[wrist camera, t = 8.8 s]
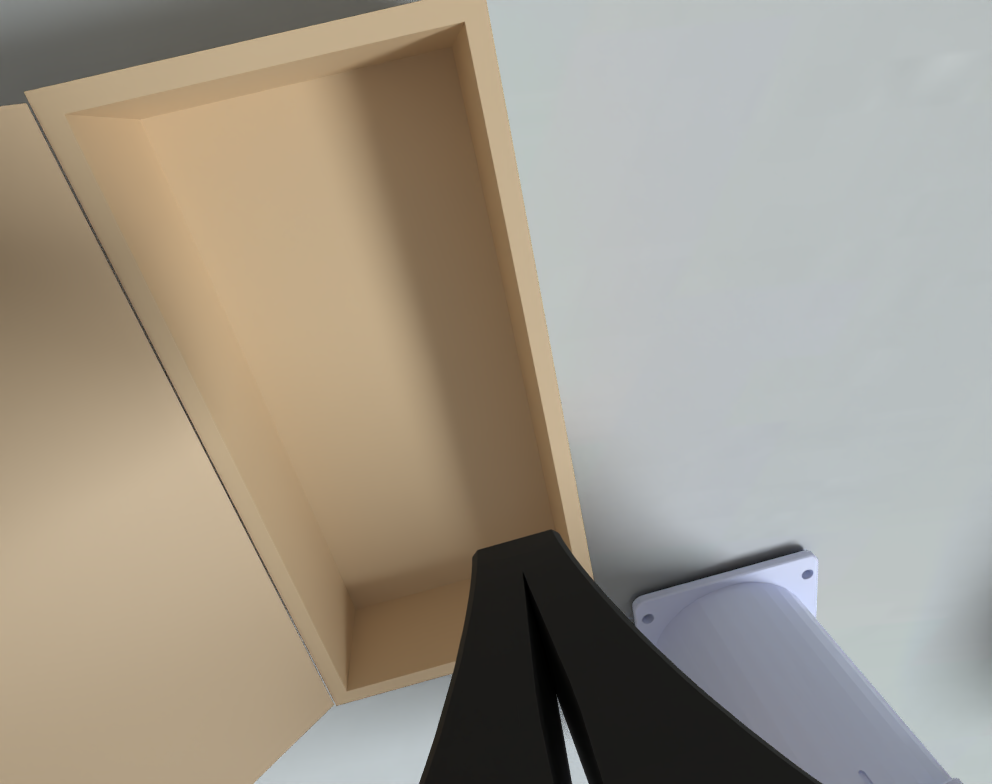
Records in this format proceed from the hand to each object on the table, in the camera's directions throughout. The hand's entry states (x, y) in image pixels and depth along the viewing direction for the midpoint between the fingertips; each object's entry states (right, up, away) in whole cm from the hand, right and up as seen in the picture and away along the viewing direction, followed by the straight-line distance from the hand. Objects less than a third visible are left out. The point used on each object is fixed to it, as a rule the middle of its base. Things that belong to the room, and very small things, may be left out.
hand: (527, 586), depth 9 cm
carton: (-4, +4, +9) cm, 11 cm away
